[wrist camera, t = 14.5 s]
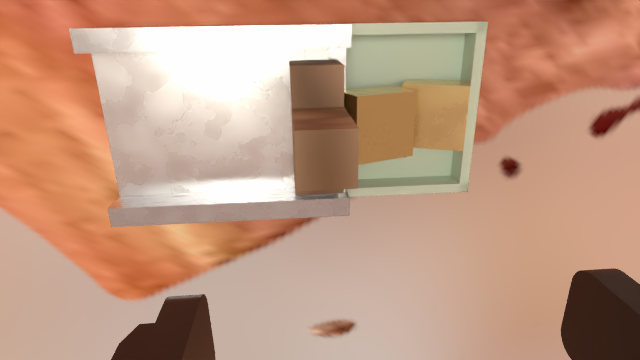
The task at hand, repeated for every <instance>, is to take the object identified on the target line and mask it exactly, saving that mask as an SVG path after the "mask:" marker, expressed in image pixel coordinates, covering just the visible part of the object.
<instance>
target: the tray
mask: <svg viewBox="0 0 640 360" xmlns="http://www.w3.org/2000/svg"><path fill="white" fill-rule="evenodd" d="M346 24H352V39H351V48H346V90H351V89H363V88H374V87H386V86H397V87H402V84H403V83H404V82H405V81H406V80H407V79H423V80H460V81H470V95H469V104H468V113H467V122H466V131H465V140H464V149H463V151H452V150H439V149H426V148H413V156H409V157H403V158H397V159H391V160H385V161H379V162H373V163H367V164H361V165H358V189H346V190H347V192H348V195H349V197H364V196H386V195H408V194H428V193H429V194H430V193H451V192H467V191H468V184H469V175H470V167H471V159H472V150H473V142H474V134H475V125H476V117H477V109H478V100H479V92H480V84H481V76H482V67H483V59H484V51H485V42H486V34H487V26H488V22H480V21H473V22H409V23H346Z"/></svg>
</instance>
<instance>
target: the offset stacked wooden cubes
mask: <svg viewBox="0 0 640 360" xmlns="http://www.w3.org/2000/svg"><path fill="white" fill-rule="evenodd" d="M289 65H290V90H291V114H292V138H293V162H294V182H295V195H311V194H332V193H344V189H358V160H359V128H358V126H357V125H356V123H355V122H354V120H353V119H352V118H351V116H350V115H349V113H348V112H347V110H346V109H345V108H344V64H343V63H341V62H340V61H338V60H337V59H332V60H292V61H289Z"/></svg>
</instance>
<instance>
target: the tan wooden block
mask: <svg viewBox="0 0 640 360" xmlns="http://www.w3.org/2000/svg"><path fill="white" fill-rule="evenodd" d="M416 98H417V91H415V90H410V89H406V88H402V87H397V86H386V87H374V88H363V89H351V90H344V108H345V109H346V110H347V112H348V113H349V115H350V116H351V118H352V119H353V120H354V122H355V123H356V125H357V126H358V128H359V160H358V165H361V164H367V163H373V162H379V161H385V160H391V159H397V158H403V157H409V156H413V143H414V128H415V113H416Z"/></svg>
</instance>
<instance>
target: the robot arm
mask: <svg viewBox="0 0 640 360" xmlns="http://www.w3.org/2000/svg"><path fill="white" fill-rule="evenodd" d="M561 337H562V342H563V345H564V348H565V350H566V352H567V353H568V355H569V357H570V358H571V359H572V360H640V284H638V283H637V282H636V281H634V280H633V279H632V278H630V277H629V276H628V275H626V274H625V273H624V272H622V271H621V270H618V269H598V270H584V271H578V272H577V273H575V275H574V276H573V278H572V282H571V287H570V290H569V295H568V299H567V304H566V308H565V312H564V317H563V321H562V326H561ZM111 360H215V350H214V343H213V336H212V329H211V322H210V316H209V309H208V303H207V298H206V296H205V295H204V294H202V295H189V296H188V295H187V296H172V297H167V298H166V299H165V301H164V304H163V306H162V308H161V310H160V313H159V315H158V318H157V320H156V322H155V323H149V324H139V325H138V326H137V327H136V328H135V329H134V330H133V331H132V332H131V333H130V334H129V335H128V336H127V337H126V338H125V339H124V340H123V341H122V342H121V343H119V345H118V347H117V349H116V351H115V353H114V355H113V357H112V359H111Z"/></svg>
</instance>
